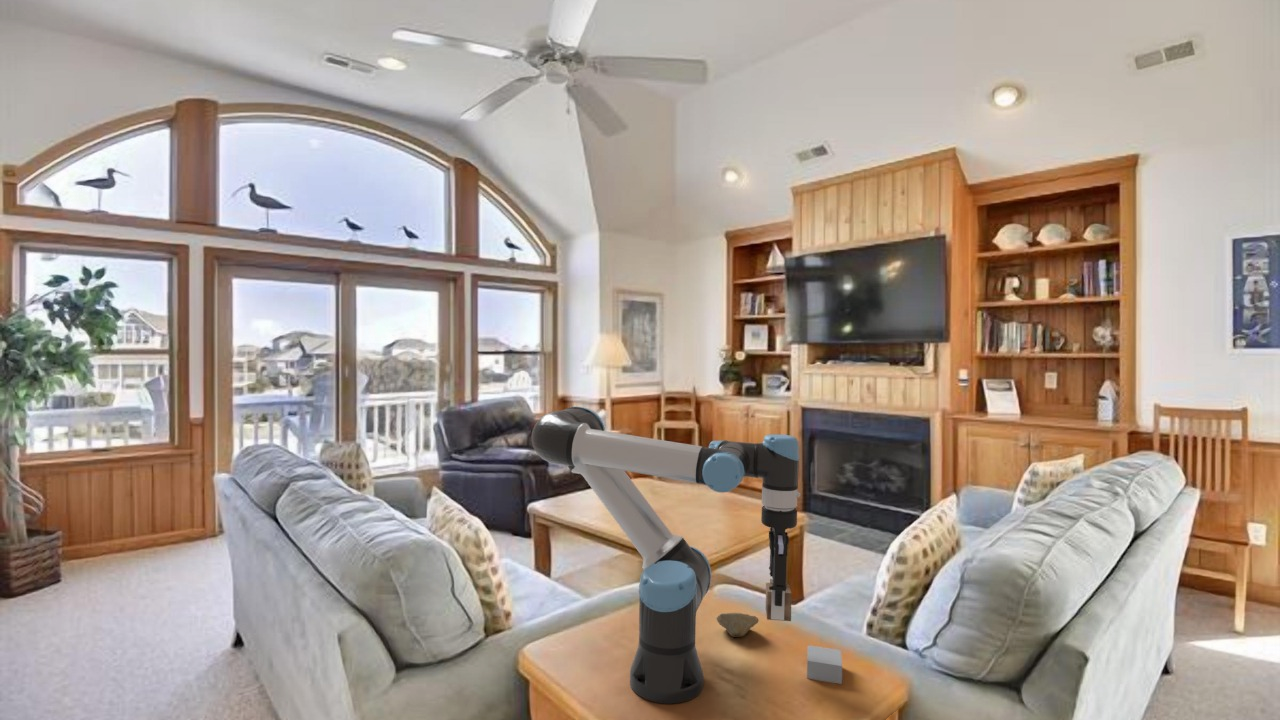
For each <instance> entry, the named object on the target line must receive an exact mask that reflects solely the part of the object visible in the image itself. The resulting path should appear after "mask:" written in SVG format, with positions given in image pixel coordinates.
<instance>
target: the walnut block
mask: <svg viewBox="0 0 1280 720" xmlns="http://www.w3.org/2000/svg"><path fill="white" fill-rule="evenodd" d="M769 586H773V583H770V582H765V614H766V620H768V621H774V620H773V619H771V593H772V590H769ZM779 621H783V622H792V590H791V586H790V584H789V583H786V591H785V605H784V620H779Z"/></svg>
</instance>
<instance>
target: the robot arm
mask: <svg viewBox="0 0 1280 720" xmlns="http://www.w3.org/2000/svg"><path fill="white" fill-rule="evenodd" d="M799 442H800V441H798V438H797V437H795V436H792V435H789V434H773V433H772V434H766V435H765V436H764V437H763V441H762V442H759V443H758V442H757V443H753V442H743V441H732V440H730V441H729V440H727V439H723V440H712V441H711V442H710V443H709V445H708V447H706V446H705V447H704V446H702V445H695V444H694V445H693V444H688V443H681V442H676V441H668V440H662V439H658V438H657V439H656V438H651V437H644V436H637V435H631V434H627V433H619V432H612V431H606V430H605V425H604V422H603V420H602V418H601V417H600V416H599V414H597V413H596V411H595V410H592V409H590V408H588V407H583V406H571V407H567V408H565V409H561V410H556V411H555V410H554V411H551V412H548V413H545V414H543V416H541V417H540V418H539V419H538V420H537V422H536V423H535V424H534V427H533V428H532V431H531V443H532V444H531V445H532V447H533V449H534V451H535V452H536V454H537V455H538V457H540V459H542V460H544V461H546V462H547V463H550V464H555V465H562V466H567V468H568V469H569V470H570V471H571V473H572V474H578V475H581V476H582V477H583V478H584V480H585V481H586V482H587V484H588V486H590V488H591V489H592V491H593V492H594V493H595V494H596V496H597V497H598V499H599V500H600V501H601V502H602V504H603V505H604V507H605V508H606V510H607V511H608V512H609V514H610V515H611V517H612V518H613V519H614V521H615V522H616V523H617V525H619V527H620V529H621V530H622V532H623V533H624V534H625V535H626V537H627V539H629V542H631V544H632V545H633V546H634V547H635V549H636V550H637V551H638V553H639V554H640V556H641V558H642V560H643V561H642V566H641V567H642V569H643V571H642V572H641V575H640V580H639V585H638V595H639V604H638V605H639V612H638V615H639V617H638V620H639V622H638V629H639V630H638V632H639V633H638V635H639V636H638V637H639V638H638V646H637V650H636V652H635V654H634V659H633V660H632V664H631V666H630V671H629V684H630V688H631V690H632V691H633V692H634V693H635V694H637V695H638V696H639V697H641V698H642V699H644V700H647V701H650V702H653V703H658V704H680V703H684V702H687V701H691V700H692V699H695V698H696V697H697V696H698V695H699V694H700V693H701V692H702V691H703V687H704V671H703V668H702V665H701V661H700V657H699V654H698V651H697V648H696V630H697V629H696V628H697V627H696V624H697V623H696V620H697V619H696V618H697V617H696V616H697V611H698V609H699V608H700V605H701V603H702V602H703V599H704V597H705V596H706V595H707V593H708V591H709V589H710V586H711V580H712V569H711V565H710V562H709V560H708V558H707V556H706V555H705V554H704V552H702V551H700V550H699V549H698V548H697V547H693V546H690V544H689V543H688V542H687V541H686V540H685V539H684V537H683V536H682V535H676V534H673V533H672V532H671V530H669V528H668V527H667V525H666V524H665V523H664V521H663V520H662V519H661V517H660V516H659V515H658V513H657V512H656V510H654V509H653V507H652V506H651V504H650V503H649V501H648V500H647V499H646V498H645V496H644V495H643V494H642V492H641V491H640V490H639V488H638V487H637V486H636V484H635V483H634V481H632V479H631V478H630V477H629V475H628V474H627V472H629V473H630V472H631V473H635V474H642V475H647V476H651V477H652V476H654V477H659V478H665V479H671V480H676V481H683V482H688V483H694V484H699V485H703V486H707V487H708V488H709V489H710V490H712V491H714V492H717V493H721V494H722V493H723V494H724V493H728V492H730V491H733V490H734V489H735V488H737V487H738V486H740V484H741V483H742V481H743V478H755V479H756V478H757V479H761V480H762V485H761V504H762V505H763V506H762V507H761V516H760V517H761V523H762V525H764V526H765V527H768V528H769V531H768V539H769V544H768V547H769V550H770V552H769V567H768V569H769V575H770V577H769V583H773V586H769V590H772V593H771V619H773V620H772V621H780V620H784V605H785V591H786V584H787V559H788V558H787V557H788V549H789V546H788V545H789V543H790V540H789V539H790V537H789V535H788V531H786V530H788V529H789V530H791V529H794V528H796V527H797V525H798V510H797V507H798V498H799V497H801V493H800V492H799V491H798V489H799V467H800V452H799V451H800V449H799V445H800V443H799Z"/></svg>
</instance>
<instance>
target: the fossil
mask: <svg viewBox="0 0 1280 720" xmlns="http://www.w3.org/2000/svg"><path fill="white" fill-rule="evenodd" d="M716 621H717V623H718V624H719V626H721V627H722V628H724V629H725V630H726V632H727V633H728V634H729V635H730V636H731V637H732V638H742V637H744V636H745V635H747V634H748V632H749V630H751V628H753V627H754V626H756V625H757V624H758V623H759V621H760V620H759V618H758V617H757V616H756V615H750V614H746V613H741V612H725V613H724V612H722V613H720V614H719V615H718V616H717V617H716Z"/></svg>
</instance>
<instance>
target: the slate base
mask: <svg viewBox="0 0 1280 720" xmlns="http://www.w3.org/2000/svg"><path fill="white" fill-rule="evenodd" d="M806 653H807V655H806V656H807V657H806V658H807V660H806V664H807V665H806V679H808V680H809V679H810V680H815V681H821V682H827V683H835V684H839V685H840V684H841V685H842V684H843V661H842V660H843V658H842V649H837V648H830V647H823V646H816V645H809V644H807V651H806Z"/></svg>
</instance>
